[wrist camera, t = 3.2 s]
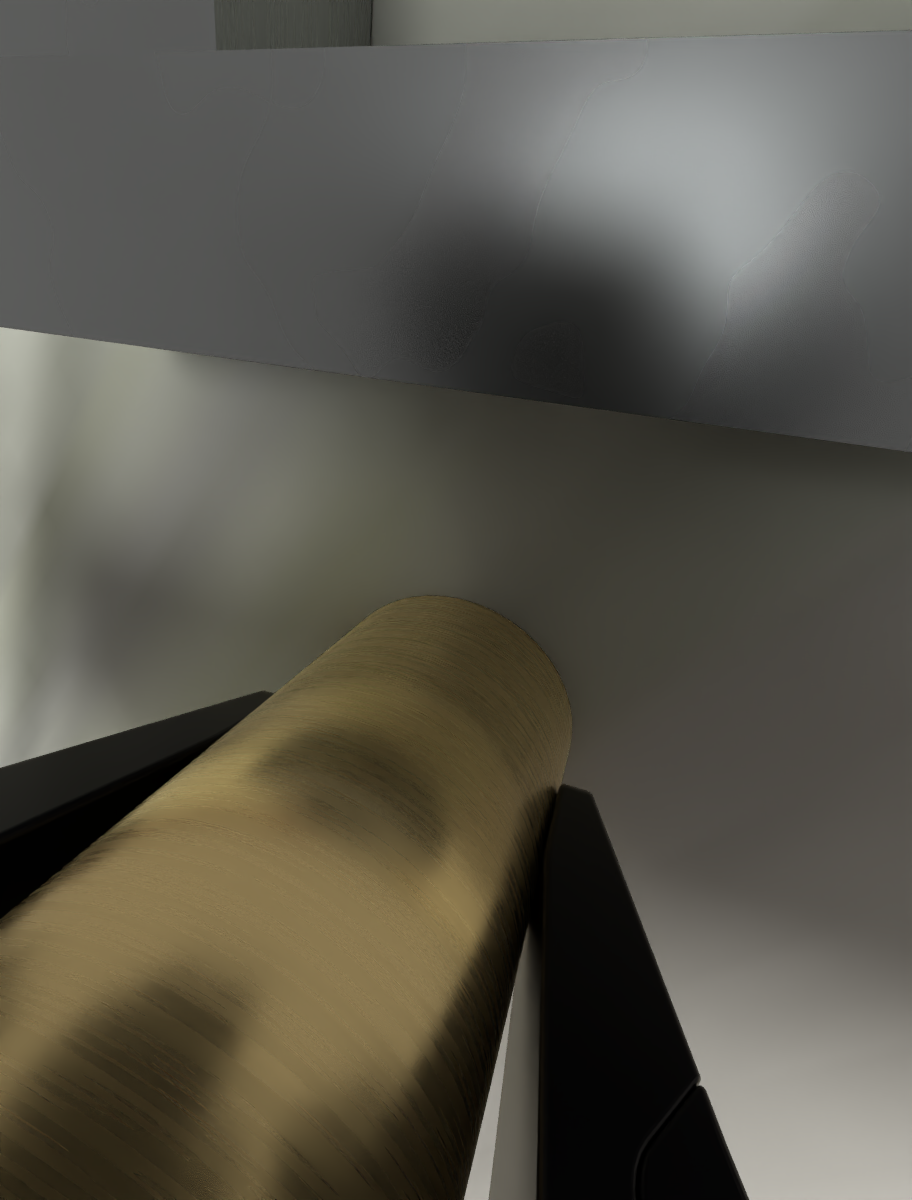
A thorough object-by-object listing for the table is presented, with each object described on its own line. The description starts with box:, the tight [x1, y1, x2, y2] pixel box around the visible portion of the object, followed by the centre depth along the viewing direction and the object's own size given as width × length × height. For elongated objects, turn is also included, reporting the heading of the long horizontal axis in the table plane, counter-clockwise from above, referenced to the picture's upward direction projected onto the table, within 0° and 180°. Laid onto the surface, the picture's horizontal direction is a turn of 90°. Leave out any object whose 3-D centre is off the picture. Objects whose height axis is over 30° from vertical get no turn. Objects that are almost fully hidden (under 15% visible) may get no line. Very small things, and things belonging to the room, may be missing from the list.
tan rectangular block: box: [0, 596, 572, 1200], centre depth 6 cm, size 4×4×7 cm
